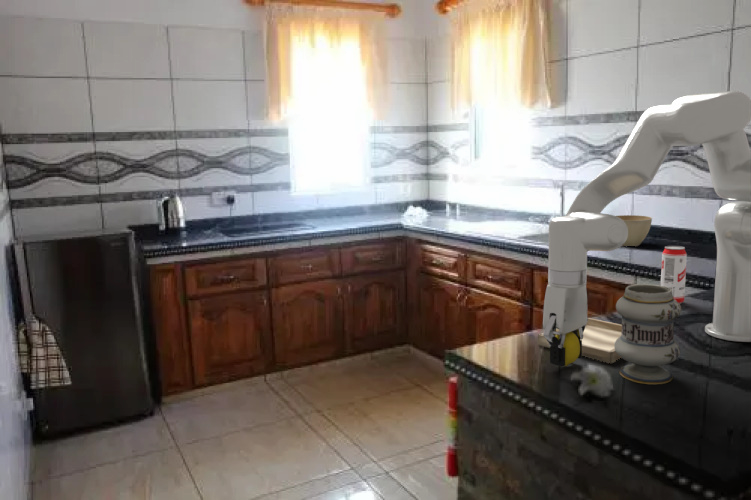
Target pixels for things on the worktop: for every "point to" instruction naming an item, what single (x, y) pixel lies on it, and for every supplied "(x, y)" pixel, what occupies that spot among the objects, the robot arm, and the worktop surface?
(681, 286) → the beer can
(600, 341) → the birch tray
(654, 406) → the worktop surface
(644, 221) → the beige bowl
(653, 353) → the apothecary jar
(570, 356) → the lemon
